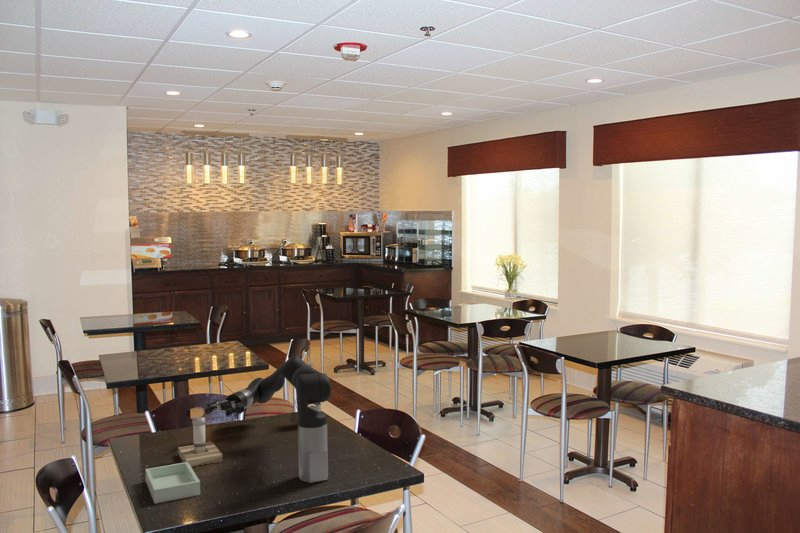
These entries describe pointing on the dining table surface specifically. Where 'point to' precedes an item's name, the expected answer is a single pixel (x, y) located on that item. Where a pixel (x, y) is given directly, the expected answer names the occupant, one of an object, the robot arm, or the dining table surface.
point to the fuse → (199, 435)
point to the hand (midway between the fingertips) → (216, 412)
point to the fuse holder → (200, 455)
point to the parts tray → (172, 482)
